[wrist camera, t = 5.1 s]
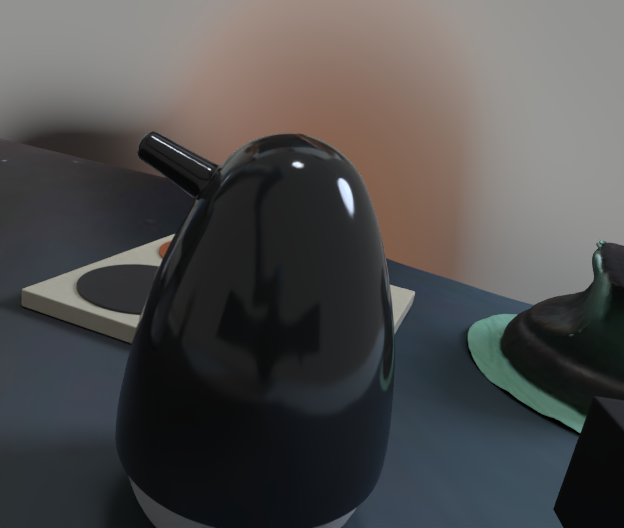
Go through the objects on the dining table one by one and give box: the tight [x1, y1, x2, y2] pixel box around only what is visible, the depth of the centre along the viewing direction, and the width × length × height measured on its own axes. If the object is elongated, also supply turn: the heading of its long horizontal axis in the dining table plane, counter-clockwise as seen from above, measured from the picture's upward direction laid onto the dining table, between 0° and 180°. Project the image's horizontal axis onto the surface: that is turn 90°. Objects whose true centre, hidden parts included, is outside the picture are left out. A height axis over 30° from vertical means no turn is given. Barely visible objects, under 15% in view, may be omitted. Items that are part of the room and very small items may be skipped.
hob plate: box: [21, 234, 415, 344], centre depth 44 cm, size 22×20×1 cm
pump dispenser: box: [115, 131, 395, 528], centre depth 22 cm, size 10×10×15 cm
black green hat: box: [468, 240, 624, 433], centre depth 42 cm, size 15×19×20 cm
